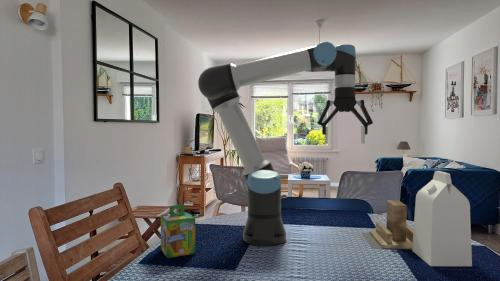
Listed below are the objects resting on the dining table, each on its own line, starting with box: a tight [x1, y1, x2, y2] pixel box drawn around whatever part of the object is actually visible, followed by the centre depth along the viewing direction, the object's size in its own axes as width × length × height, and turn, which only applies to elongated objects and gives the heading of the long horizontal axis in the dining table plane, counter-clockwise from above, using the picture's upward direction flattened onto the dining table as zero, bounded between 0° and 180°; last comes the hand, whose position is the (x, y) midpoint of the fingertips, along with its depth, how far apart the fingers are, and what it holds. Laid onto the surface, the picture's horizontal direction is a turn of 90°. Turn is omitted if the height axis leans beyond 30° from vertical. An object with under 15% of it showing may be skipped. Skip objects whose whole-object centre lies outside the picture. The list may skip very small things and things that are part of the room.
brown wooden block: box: [385, 199, 408, 242], centre depth 121 cm, size 4×8×12 cm, turn 176°
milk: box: [411, 170, 473, 267], centre depth 105 cm, size 12×12×26 cm
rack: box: [369, 221, 414, 250], centre depth 122 cm, size 14×15×4 cm
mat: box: [360, 232, 410, 250], centre depth 122 cm, size 20×16×1 cm
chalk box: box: [159, 204, 196, 259], centre depth 113 cm, size 9×9×15 cm
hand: (344, 143), depth 135 cm, fingers open, 13 cm apart
